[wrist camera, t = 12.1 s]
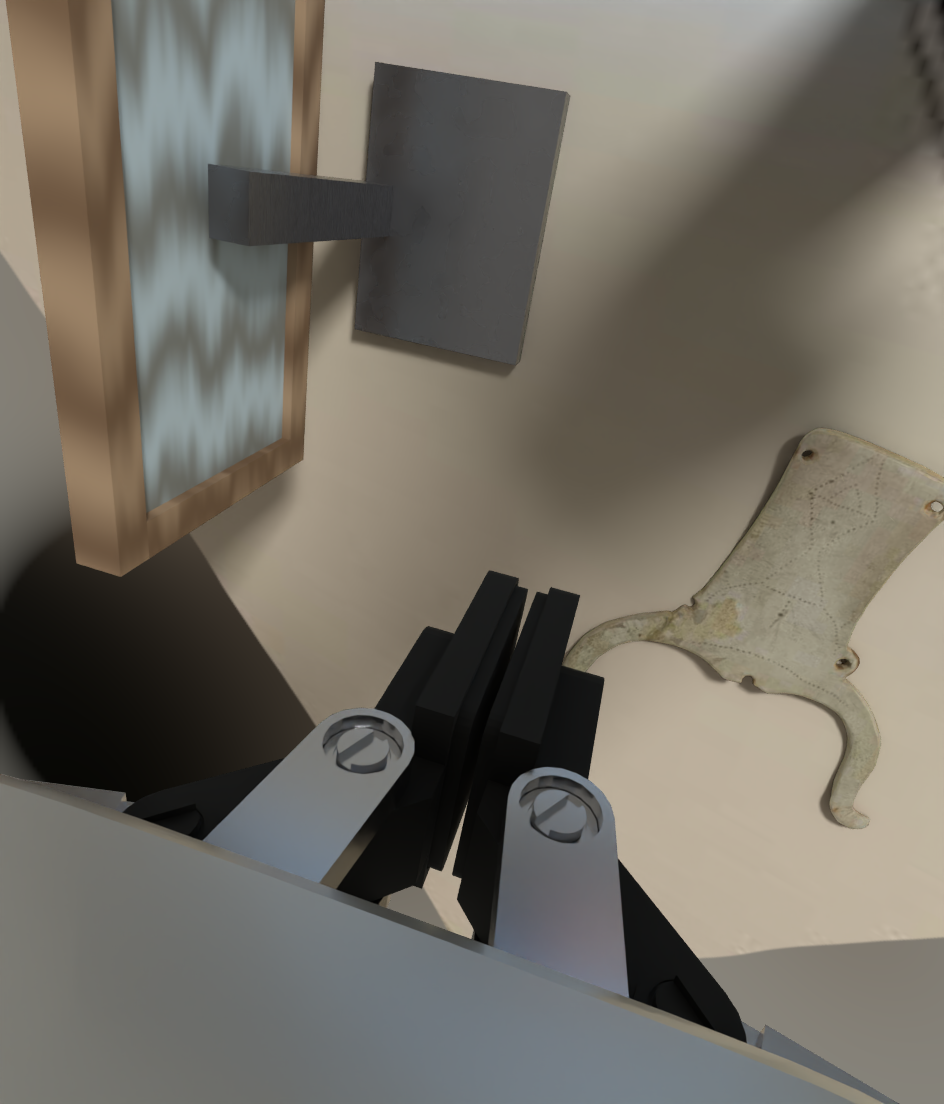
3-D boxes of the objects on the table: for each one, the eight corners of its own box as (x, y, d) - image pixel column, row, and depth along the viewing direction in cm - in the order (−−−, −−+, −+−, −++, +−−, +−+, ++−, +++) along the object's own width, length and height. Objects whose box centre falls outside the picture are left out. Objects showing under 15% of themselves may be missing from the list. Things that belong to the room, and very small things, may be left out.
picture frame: (277, -173, 34) (-75, -511, 18) (332, -167, 33) (20, -510, 17) (265, 449, 49) (67, 560, 33) (303, 459, 48) (120, 576, 32)
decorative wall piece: (651, 364, 48) (525, 689, 62) (649, 372, 45) (518, 709, 60) (1104, 512, 45) (861, 822, 59) (1130, 530, 42) (869, 849, 56)
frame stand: (384, 66, 44) (204, -25, 27) (570, 95, 42) (497, 17, 25) (362, 326, 51) (211, 378, 35) (519, 361, 49) (438, 434, 33)
